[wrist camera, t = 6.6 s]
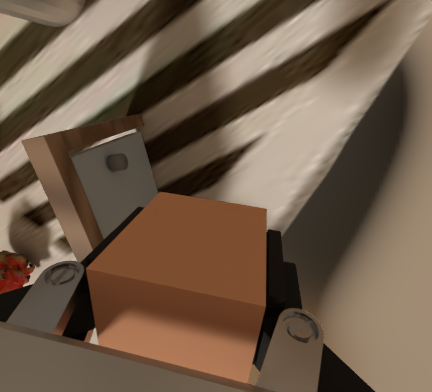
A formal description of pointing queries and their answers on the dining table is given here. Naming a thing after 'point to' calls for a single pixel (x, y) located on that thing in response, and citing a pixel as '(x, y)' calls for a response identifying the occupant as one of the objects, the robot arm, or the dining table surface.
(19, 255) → the dragon fruit
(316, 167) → the dining table surface
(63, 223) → the brown door frame
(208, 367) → the orange stepped block
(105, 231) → the door
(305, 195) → the dining table surface
